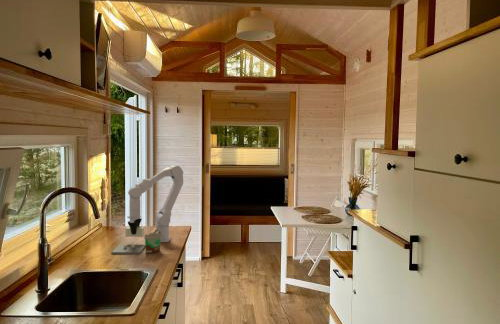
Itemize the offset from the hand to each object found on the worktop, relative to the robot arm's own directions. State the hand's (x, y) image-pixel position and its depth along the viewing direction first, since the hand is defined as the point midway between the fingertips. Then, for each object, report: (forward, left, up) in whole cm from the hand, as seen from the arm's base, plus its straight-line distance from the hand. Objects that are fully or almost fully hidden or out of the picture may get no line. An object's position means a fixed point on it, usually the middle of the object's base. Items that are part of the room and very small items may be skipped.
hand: (134, 232), depth 205 cm
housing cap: (0, 0, -1) cm, 1 cm away
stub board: (+12, 0, -6) cm, 13 cm away
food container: (+15, +14, -6) cm, 21 cm away
